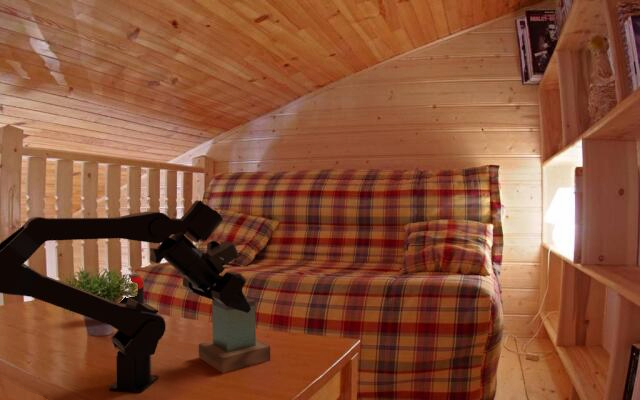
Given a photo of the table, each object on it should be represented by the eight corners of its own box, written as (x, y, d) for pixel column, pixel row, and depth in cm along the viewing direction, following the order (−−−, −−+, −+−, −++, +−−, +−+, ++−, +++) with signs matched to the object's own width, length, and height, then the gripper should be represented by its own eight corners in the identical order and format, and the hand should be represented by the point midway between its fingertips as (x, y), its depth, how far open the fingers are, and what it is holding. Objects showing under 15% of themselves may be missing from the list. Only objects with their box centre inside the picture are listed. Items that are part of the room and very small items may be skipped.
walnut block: (222, 373, 90) (222, 358, 90) (198, 357, 98) (198, 343, 98) (270, 360, 97) (270, 346, 97) (244, 346, 105) (244, 333, 105)
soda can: (127, 323, 125) (127, 279, 125) (108, 320, 128) (108, 277, 128) (149, 316, 132) (149, 274, 131) (130, 313, 135) (130, 272, 135)
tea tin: (227, 352, 93) (226, 305, 93) (212, 344, 98) (212, 299, 98) (255, 345, 97) (255, 300, 97) (240, 338, 102) (240, 295, 102)
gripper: (236, 232, 87) (285, 283, 94) (195, 227, 102) (240, 271, 109) (197, 278, 82) (251, 328, 89) (160, 266, 97) (209, 309, 104)
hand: (238, 306), depth 98 cm, fingers open, 9 cm apart
